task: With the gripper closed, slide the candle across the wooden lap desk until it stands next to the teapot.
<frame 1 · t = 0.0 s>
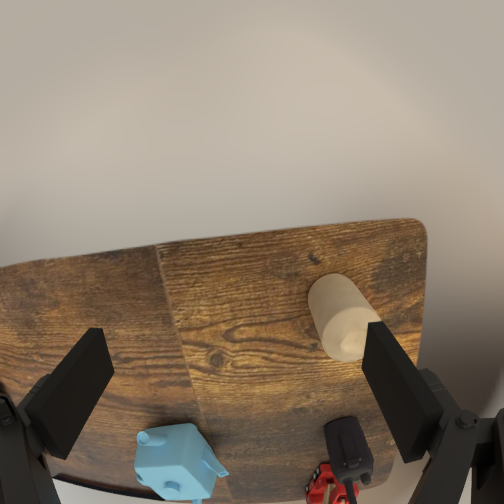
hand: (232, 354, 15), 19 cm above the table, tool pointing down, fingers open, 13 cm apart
teapot: (187, 439, 41), on the table
candle: (331, 295, 34), on the table
toy fire truck: (323, 470, 43), on the table
two-way radio: (340, 421, 40), on the table
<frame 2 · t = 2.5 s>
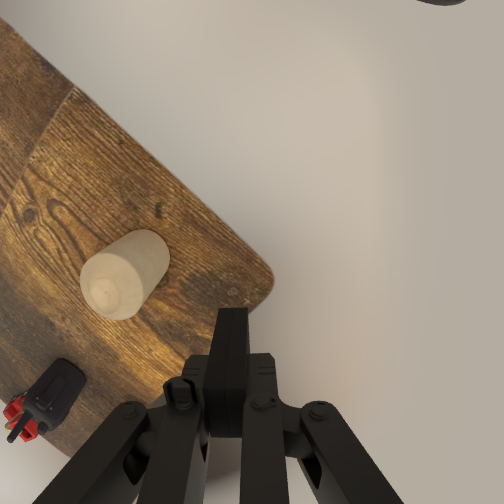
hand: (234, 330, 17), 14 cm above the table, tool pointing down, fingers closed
candle: (144, 254, 31), on the table
toy fire truck: (35, 397, 38), on the table
two-way radio: (72, 367, 36), on the table
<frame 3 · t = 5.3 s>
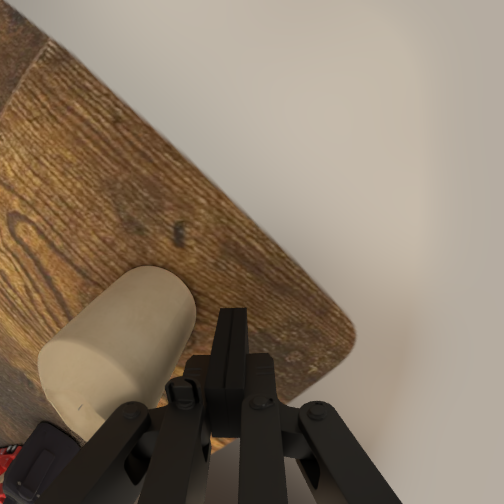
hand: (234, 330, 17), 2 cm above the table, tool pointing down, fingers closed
candle: (156, 304, 19), on the table, touching gripper
toy fire truck: (21, 452, 26), on the table
two-way radio: (62, 432, 24), on the table
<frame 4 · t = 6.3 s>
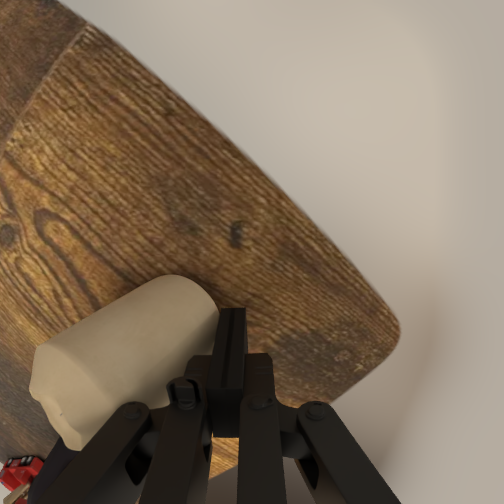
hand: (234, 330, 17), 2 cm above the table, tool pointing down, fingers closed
candle: (183, 316, 18), point 1 cm above the table, touching gripper, hand
toy fire truck: (37, 463, 26), on the table
two-way radio: (86, 443, 23), on the table
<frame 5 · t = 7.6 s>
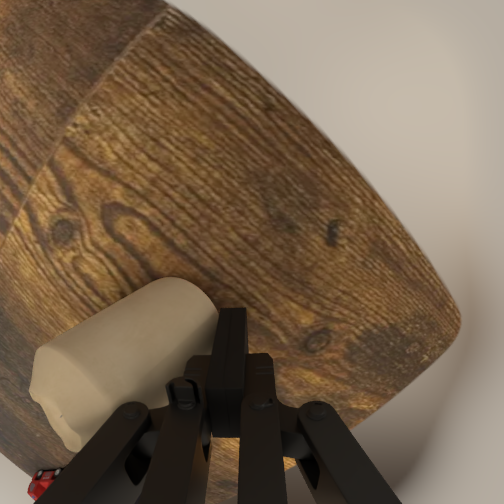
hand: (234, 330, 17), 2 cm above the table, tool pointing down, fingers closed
candle: (182, 318, 18), point 1 cm above the table, touching gripper, hand
toy fire truck: (71, 474, 26), on the table
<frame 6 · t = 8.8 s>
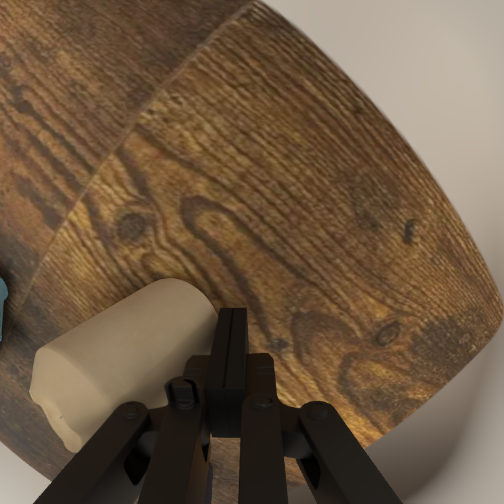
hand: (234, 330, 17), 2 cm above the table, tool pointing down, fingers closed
candle: (182, 319, 18), point 1 cm above the table, touching gripper
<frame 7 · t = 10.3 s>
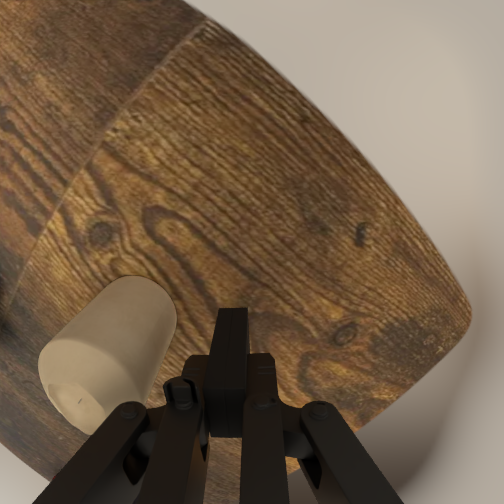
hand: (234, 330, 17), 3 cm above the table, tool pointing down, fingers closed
candle: (139, 311, 21), on the table
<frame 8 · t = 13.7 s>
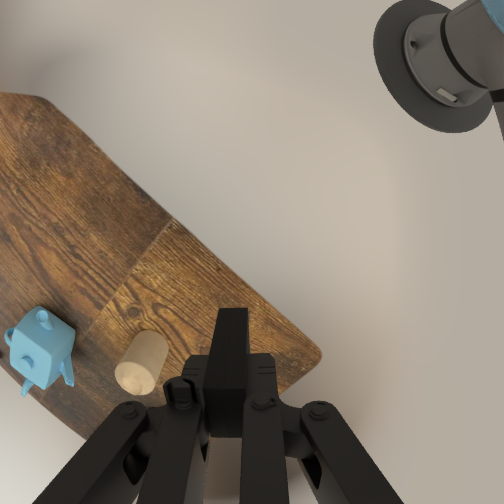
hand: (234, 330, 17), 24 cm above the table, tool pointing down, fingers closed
teapot: (58, 336, 45), on the table
candle: (152, 344, 45), on the table
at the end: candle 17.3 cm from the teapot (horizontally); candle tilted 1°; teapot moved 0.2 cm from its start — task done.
